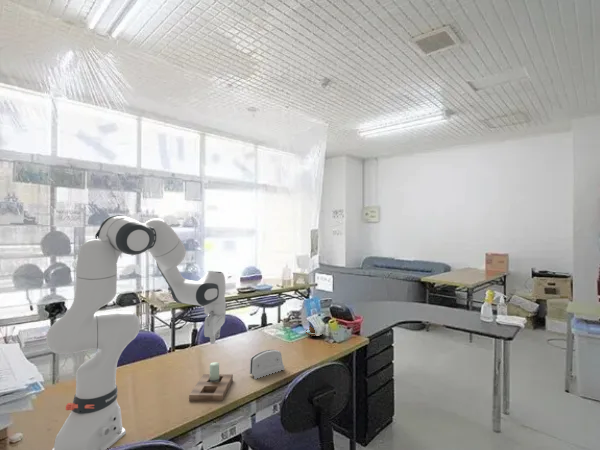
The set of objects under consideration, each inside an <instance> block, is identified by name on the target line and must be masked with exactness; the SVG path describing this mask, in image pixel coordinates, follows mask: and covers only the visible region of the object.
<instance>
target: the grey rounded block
mask: <svg viewBox="0 0 600 450" xmlns="http://www.w3.org/2000/svg"><path fill="white" fill-rule="evenodd" d="M249 360H250V361H249V373H248V374H249V375H251V376H253V379H254V380H257V378H258V379H260V377H261V378H264V377H267V376H269V374H270V375H272V373H273V374H276V373H279V372H282V371H281V370H283V371H285V365H284V362H283V357H282V352H281V351H280V350H277V349H266V350H265V349H264V350H261V351H259V352H257V353H255V354H254V355H252V356H251V357H250V359H249ZM278 371H279V372H278ZM275 372H276V373H275ZM266 375H267V376H266ZM263 376H264V377H263Z"/></svg>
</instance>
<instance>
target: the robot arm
mask: <svg viewBox="0 0 600 450" xmlns="http://www.w3.org/2000/svg"><path fill="white" fill-rule="evenodd" d="M94 237H95V239H94V238H93V239H90V240H86V241H85V242H83V243H82V244H81V246H80V247H79V252H78V256H77V261H76V268H75V269H76V270H75V293H74V299H73V302H72V304H71V306H70V307H69V309H68V310H67V312H65V314H64V315H63V316H62V317H60V318H59V319H58V320H56V321H55V322H54V323H52V325H50V327H49V329H48V331H47V333H46V338H45V339H46V344H47V345H46V346H47V347H48V348H49V350H50V351H51V352H52V353H54V354H75V353H80V352H81V353H82V352H85V351H90V350H98V351H97V352H96V353H95V354H94V355H93V356H92V357H91V358H89V359H87V360H85V361H84V362H83V363H82V364H81V365H80V366H79V367H78V369H77V370H76V373H75V394H74V397H73V399H72V402H68V403H67V404H66V406H65V410H66V411H70V413H69V415H68V417H67V418H66V420H65V421H64V423H63V425H62V426H61V428H60V430H59V431H58V433H57V434H56V436H55V440H54V445H53V448H52V449H51V450H108V449H109V448H110V447H112V445H114V444H115V443H116V442H118V441H119V440H120V439H121V438H122V437H123V436H125V435H126V434H127V432H126V429H125V427H123V419H122V409H121V406H120V405H119V403H118V400H117V398H118V393H119V390H118V386H117V384H116V383H117V381H116V379H117V370H118V369H117V368H118V361H119V359H120V357H121V355H122V353H123V352H124V350H125V349H126V347H127V346H128V345H129V344H130V343H131V342H133V341H134V340H135V339H136V337H138V334H139V332H140V331H141V330H140V328H141V321H140V319H139V316H138V315H137V314H136V313H135V312H133V311H128V310H127V311H125V310H118V311H117V310H116V311H107V312H101V313H97V311H99V309H101V308H103V307H104V306H106V305H108V304H110V303H111V302H112V301H113V300H114V299H115V297H116V295H117V286H118V285H117V281H118V279H117V278H118V268H117V267H118V264H117V263H118V261H119V257H120V255H122V253H123V254H126V255H130V256H132V255H133V256H136V255H140V254H143V253H144V252H147V251H148V252H149V253H150V254H151V256H152V257H153V258H154V260H155V261H156V267H157V268H158V270H159V272H160V274H161V276H162V277H163V279H164V280H165V282H166V284H167V285H168V287H169V289H170V293H171V297H172V299H173V300H174V301H175V303H177V304H183V305H185V304H187V305H194V306H204V315H206V317H205V320H204V323H203V324H204V325H203V335H204V337H205V338H209V340H210V341H209V342H210V344H211V345H213V344H215V343H216V339H219V338H220V336H221V328H222V327H223V325H224V324H225V322H226V309H227V307H228V303H227V302H226V297H225V295H226V279H225V274H224V272H221V271H214V270H208V271H206V272H205V275H204V276H203V277H202V278H200V279H199V280H191V279H187V278H185V277H183V275H182V273H181V272H180V270H179V268H178V267H179V265H181V264H182V262H183V261H184V259H185V257H186V253H187V250H186V247H185V245H184V243H183V241H182V240H181V239H180V237H179V235H178V234H177V233H176V231H175V230H174V229H173V228H172V227H171V226H170V225H169V224H168V223H167V222H166V221H165V220H163V219H161V218H152V219H149V220H147V221H146V222H145V223H143V222H141V221H140V222H139V221H138V220H136V219H134V218H132V217H130V216H129V217H128V216H125V215H121V214H116V215H115V214H114V215H111V216H108V217H106V218H105V219H104V220H103V221H102V222H101V224H100V225H99V229H98V230H97V232H96V234H95V236H94ZM107 448H108V449H107Z"/></svg>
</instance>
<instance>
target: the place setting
mask: <svg viewBox="0 0 600 450" xmlns="http://www.w3.org/2000/svg"><path fill="white" fill-rule="evenodd" d="M308 329H309V330H310V332H311V333H315V330H314V328H312V327H311V325H309V326H308ZM308 329H306V331H307V330H308ZM306 331H304V333H305V335H307V334H308V335H307V336H309V335H311V336H310V337H312V336H314V335H315V334H309V333H307V332H306Z"/></svg>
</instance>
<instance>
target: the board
mask: <svg viewBox="0 0 600 450" xmlns="http://www.w3.org/2000/svg"><path fill="white" fill-rule="evenodd" d="M233 376H234V375H233V374H227V373H226V374H223V373H221V374H220V373H219V382H210V380H209V379H210V373H208V374H207V373H204V374H202V376H201V377H200V379H199V380H198V381H197V383H196V384H195V385H194V387H193V389H192V390H191V392H190V393H189V394H188V402H190V401H191V402H201V401H202V402H222V401H223V400H224V399H225V396H226V395H227V392H228V390H229V389H230V387H231V385H232V382H233V379H234V377H233Z"/></svg>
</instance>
